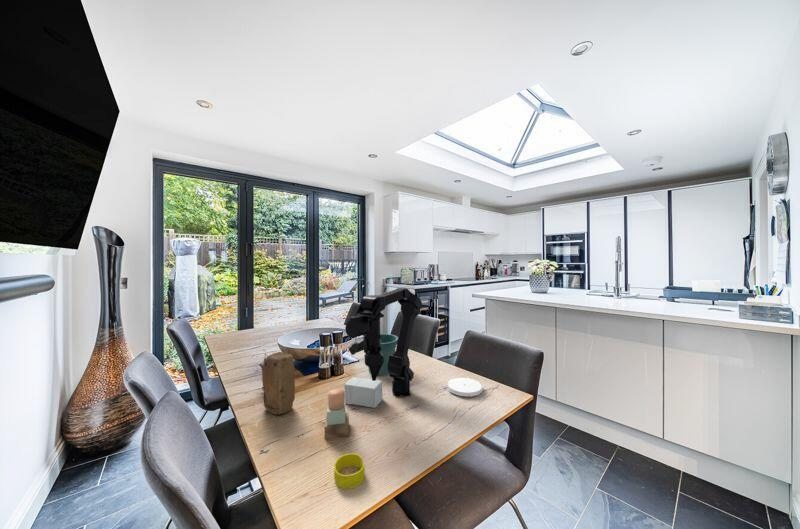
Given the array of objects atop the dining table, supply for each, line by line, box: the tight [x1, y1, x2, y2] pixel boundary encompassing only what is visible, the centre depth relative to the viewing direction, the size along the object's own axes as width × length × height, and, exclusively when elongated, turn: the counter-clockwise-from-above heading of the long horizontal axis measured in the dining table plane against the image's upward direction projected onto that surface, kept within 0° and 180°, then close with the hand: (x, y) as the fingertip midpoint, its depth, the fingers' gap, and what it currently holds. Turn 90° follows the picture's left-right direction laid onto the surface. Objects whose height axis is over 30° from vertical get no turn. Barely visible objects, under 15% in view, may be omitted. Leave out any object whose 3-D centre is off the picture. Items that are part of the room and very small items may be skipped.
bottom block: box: [324, 411, 350, 440], centre depth 91 cm, size 7×7×4 cm
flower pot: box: [367, 333, 399, 377], centre depth 139 cm, size 16×16×16 cm
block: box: [261, 351, 296, 416], centre depth 104 cm, size 11×8×20 cm
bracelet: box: [333, 452, 366, 489], centre depth 72 cm, size 7×8×3 cm
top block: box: [326, 401, 346, 425], centre depth 91 cm, size 6×6×4 cm
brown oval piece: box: [327, 388, 345, 411], centre depth 91 cm, size 5×5×4 cm
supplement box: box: [343, 376, 383, 409], centre depth 110 cm, size 7×7×13 cm
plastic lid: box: [446, 377, 483, 397], centre depth 119 cm, size 14×14×2 cm
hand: (373, 375), depth 103 cm, fingers open, 9 cm apart
